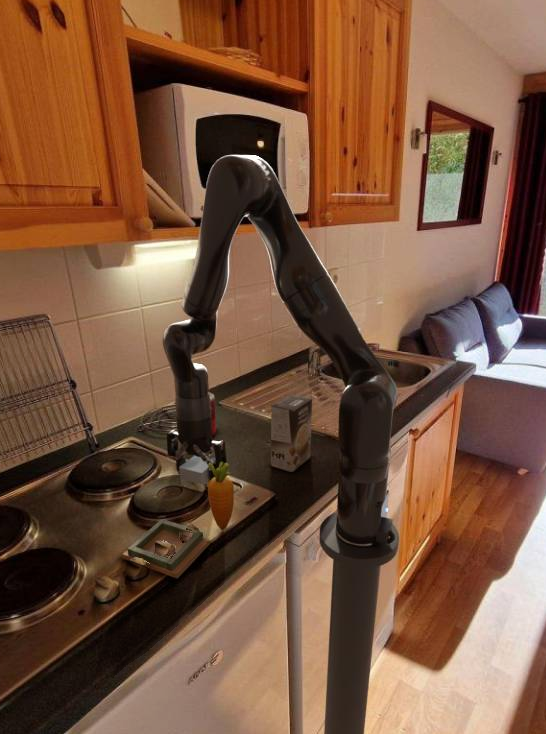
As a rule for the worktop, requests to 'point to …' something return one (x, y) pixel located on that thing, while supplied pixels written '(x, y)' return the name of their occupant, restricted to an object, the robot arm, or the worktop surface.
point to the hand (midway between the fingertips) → (197, 477)
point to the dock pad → (170, 534)
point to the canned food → (213, 413)
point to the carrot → (221, 495)
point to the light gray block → (195, 471)
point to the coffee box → (291, 432)
